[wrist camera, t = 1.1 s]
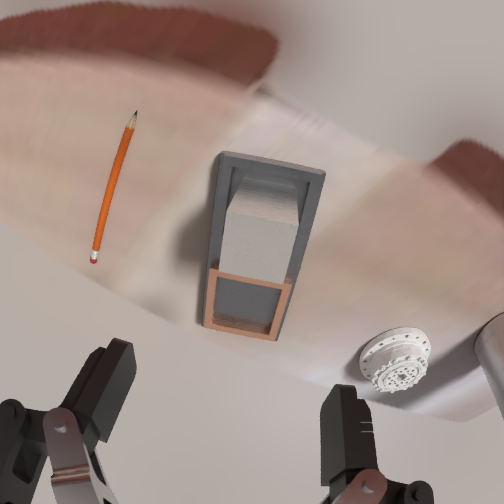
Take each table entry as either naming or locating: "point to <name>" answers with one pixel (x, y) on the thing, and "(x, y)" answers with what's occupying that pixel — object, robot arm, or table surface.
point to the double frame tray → (248, 289)
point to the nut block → (260, 230)
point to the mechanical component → (396, 359)
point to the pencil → (112, 187)
